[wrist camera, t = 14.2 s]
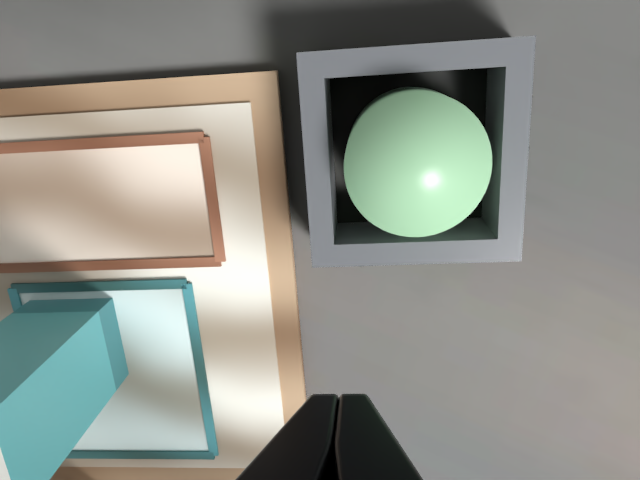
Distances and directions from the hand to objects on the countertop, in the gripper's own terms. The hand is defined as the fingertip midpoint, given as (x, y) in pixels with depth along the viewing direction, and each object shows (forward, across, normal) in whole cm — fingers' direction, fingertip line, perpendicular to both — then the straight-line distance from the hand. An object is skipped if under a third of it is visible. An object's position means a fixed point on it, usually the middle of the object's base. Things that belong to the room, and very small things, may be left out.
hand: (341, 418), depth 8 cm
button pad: (+12, -2, -2) cm, 13 cm away
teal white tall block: (+12, +12, +5) cm, 18 cm away
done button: (+12, -2, -2) cm, 12 cm away
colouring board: (+12, +10, +4) cm, 16 cm away
